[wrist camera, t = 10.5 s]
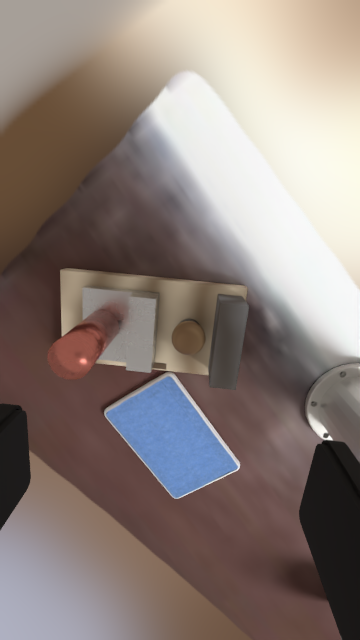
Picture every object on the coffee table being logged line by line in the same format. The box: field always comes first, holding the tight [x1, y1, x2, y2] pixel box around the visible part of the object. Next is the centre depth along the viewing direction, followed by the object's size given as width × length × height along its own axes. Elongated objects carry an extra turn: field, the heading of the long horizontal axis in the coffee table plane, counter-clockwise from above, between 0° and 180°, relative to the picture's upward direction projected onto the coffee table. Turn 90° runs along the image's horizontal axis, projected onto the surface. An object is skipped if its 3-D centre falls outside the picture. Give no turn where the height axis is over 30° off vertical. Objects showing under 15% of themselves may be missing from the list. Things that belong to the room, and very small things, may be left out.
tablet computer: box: [104, 372, 240, 499], centre depth 45 cm, size 19×13×1 cm, turn 34°
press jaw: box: [48, 285, 160, 380], centre depth 33 cm, size 9×9×12 cm
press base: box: [60, 268, 249, 390], centre depth 37 cm, size 23×12×7 cm, turn 85°
